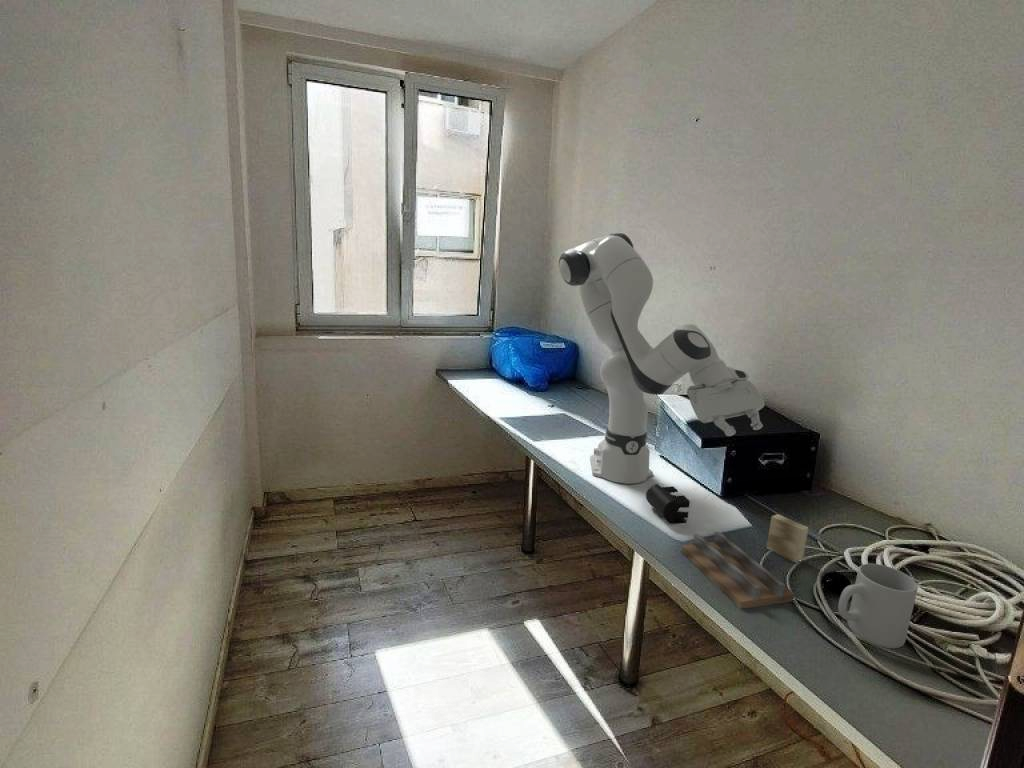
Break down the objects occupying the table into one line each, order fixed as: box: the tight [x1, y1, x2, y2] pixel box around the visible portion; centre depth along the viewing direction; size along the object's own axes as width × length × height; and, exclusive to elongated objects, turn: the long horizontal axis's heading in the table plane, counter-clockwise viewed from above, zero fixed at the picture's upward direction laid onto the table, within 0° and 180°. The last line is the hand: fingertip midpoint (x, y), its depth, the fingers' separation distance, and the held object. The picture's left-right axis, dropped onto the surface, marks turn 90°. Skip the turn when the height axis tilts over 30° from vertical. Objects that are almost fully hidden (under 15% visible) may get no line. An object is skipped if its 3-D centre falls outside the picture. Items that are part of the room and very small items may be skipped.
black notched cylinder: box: [645, 483, 690, 525], centre depth 130 cm, size 10×7×7 cm
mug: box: [838, 563, 919, 649], centre depth 89 cm, size 12×8×11 cm
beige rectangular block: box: [766, 513, 809, 563], centre depth 114 cm, size 7×2×8 cm, turn 33°
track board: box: [680, 531, 796, 610], centre depth 106 cm, size 20×12×4 cm, turn 14°
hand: (745, 431), depth 118 cm, fingers open, 8 cm apart
